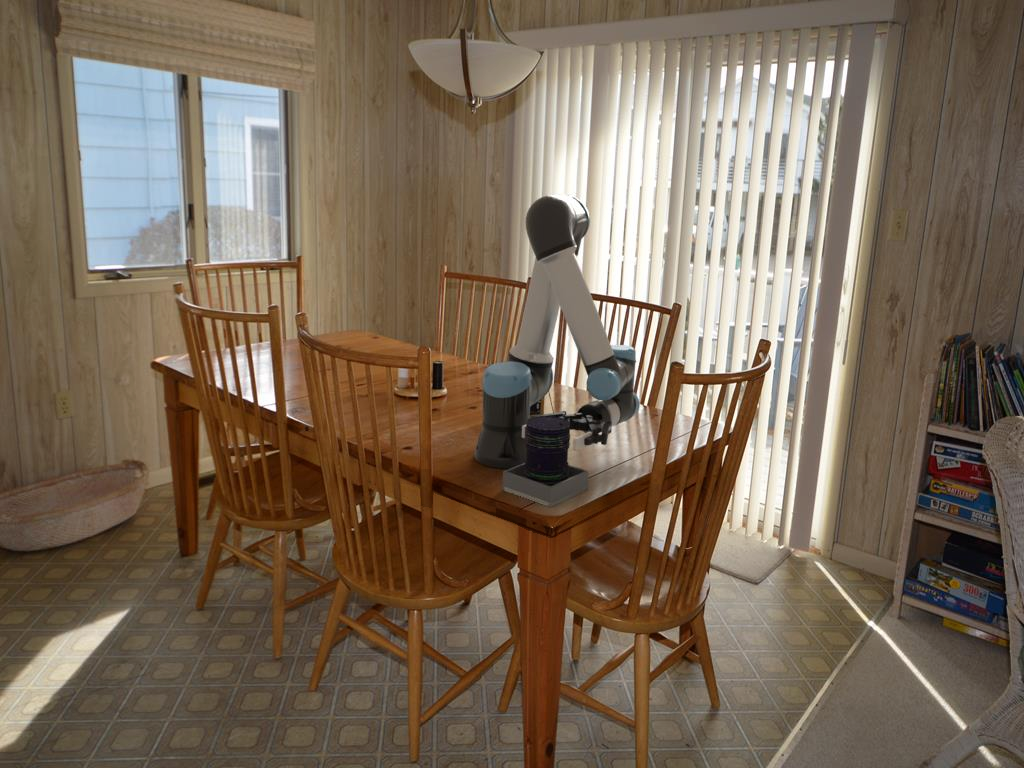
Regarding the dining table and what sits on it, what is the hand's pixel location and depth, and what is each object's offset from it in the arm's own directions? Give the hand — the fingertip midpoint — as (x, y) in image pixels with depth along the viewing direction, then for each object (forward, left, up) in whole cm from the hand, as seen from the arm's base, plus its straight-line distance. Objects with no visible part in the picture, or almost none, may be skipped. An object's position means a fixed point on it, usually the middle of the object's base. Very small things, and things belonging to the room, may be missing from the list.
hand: (548, 438), depth 172 cm
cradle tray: (-1, +1, -13) cm, 13 cm away
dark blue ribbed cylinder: (-1, +1, -12) cm, 12 cm away
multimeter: (-36, +40, -13) cm, 55 cm away
